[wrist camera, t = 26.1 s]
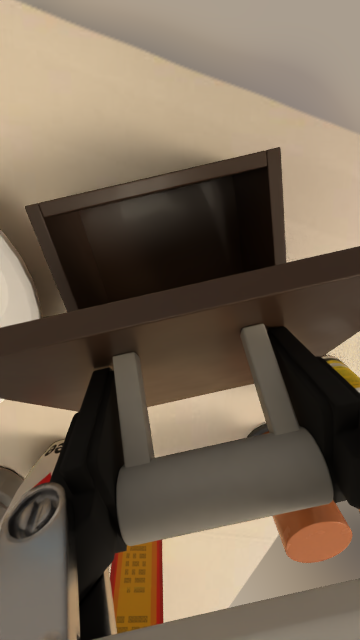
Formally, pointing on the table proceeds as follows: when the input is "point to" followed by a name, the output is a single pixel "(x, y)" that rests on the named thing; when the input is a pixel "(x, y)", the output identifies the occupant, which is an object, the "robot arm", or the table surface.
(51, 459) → the cup
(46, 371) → the box top
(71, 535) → the robot arm
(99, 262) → the dark wooden lidded box
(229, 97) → the table surface
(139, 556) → the baking soda box
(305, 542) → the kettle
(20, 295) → the bowl
